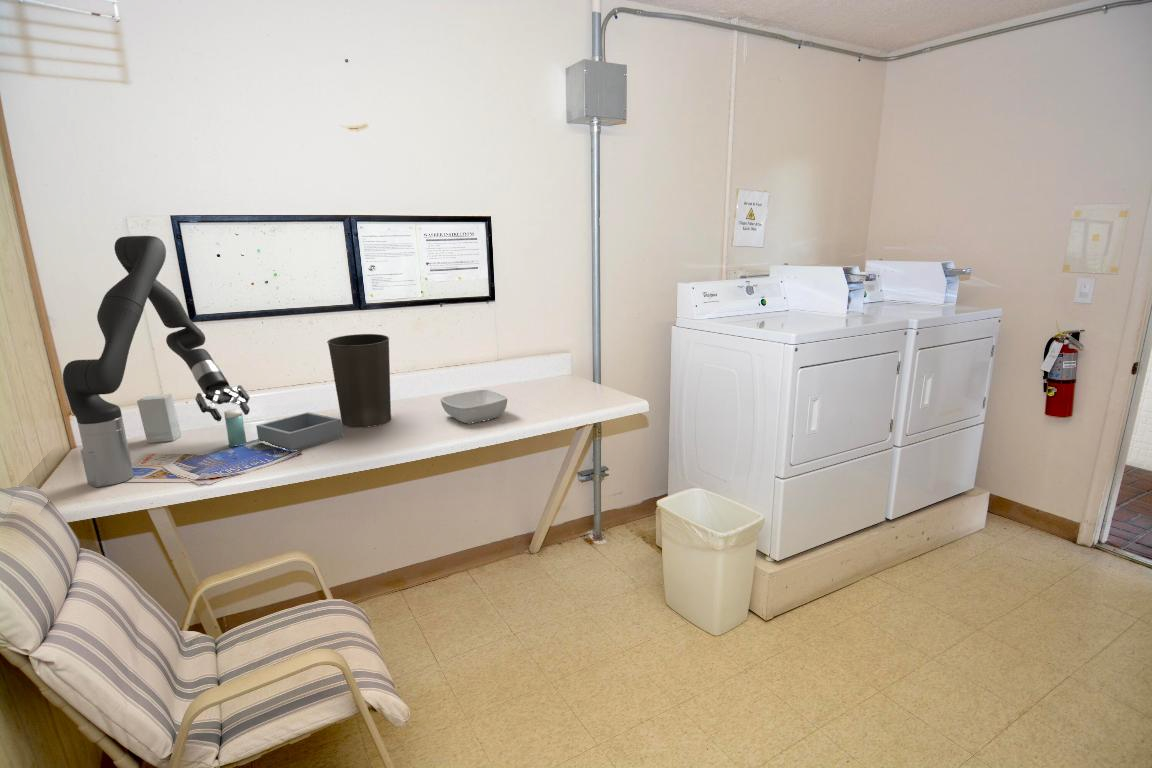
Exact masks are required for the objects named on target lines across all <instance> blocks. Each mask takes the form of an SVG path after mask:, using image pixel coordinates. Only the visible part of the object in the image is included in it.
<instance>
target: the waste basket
mask: <svg viewBox="0 0 1152 768" xmlns="http://www.w3.org/2000/svg"><path fill="white" fill-rule="evenodd" d="M327 344H328V351H329V355H330V360H331V361H330V362H331V368H332V373H333V378H334V379H333V380H334V385H335V390H336V396H337V402H338V408H339V413H340V414H339V415H340V419H341V425H343V426H344V427H347V426H348V427H347V428H355V427H362V428H369V427H368V426H371V427H375V426H374V425H377V426H380V425H379V424H381V425H383V424H382V423H384V424H386V423H388V422H389V421H391V418H392V413H391V412H392V410H391V409H392V407H391V405H392V404H391V403H392V400H391V376H390V375H391V371H390V337H389V336H388V335H385V334H378V333H376V334H375V333H361V334H347V335H340V336H336V337H332V338H329V339H328V340H327ZM387 421H388V422H387ZM385 422H386V423H385Z"/></svg>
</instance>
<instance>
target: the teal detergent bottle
mask: <svg viewBox="0 0 1152 768" xmlns="http://www.w3.org/2000/svg"><path fill="white" fill-rule="evenodd" d="M223 413H224V414H223V415H224V419H225V427H226V433H227V438H228V446H229V447H230V446H235V445H240V444H244V443H246V444H247V437H246V431H245V425H244V417H243V411H242V409H241V408H239V409H235V408H234V409H229V410H227V411H224V412H223Z"/></svg>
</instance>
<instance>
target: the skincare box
mask: <svg viewBox="0 0 1152 768" xmlns="http://www.w3.org/2000/svg"><path fill="white" fill-rule="evenodd" d="M136 402H137V403H136V404H137V407H138V411H139V414H140V415H139V416H140V419H141V423H142V427H143V431H144V436H145V439H146V444H151V443H163V442H164V443H165V442H174V441H176V440H178V439H179V438H181V437H182V431H181V428H180V423H179V419H178V413H177V411H176V406H175V402H174V398H173V394H172V393H171V394H169V393H168V394H161V395H159V394H158V395H148V396H144V397H142V398H140V399H138V400H136Z"/></svg>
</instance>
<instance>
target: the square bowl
mask: <svg viewBox="0 0 1152 768" xmlns="http://www.w3.org/2000/svg"><path fill="white" fill-rule="evenodd" d="M440 403H441V406H442V408H443V411H444V412H445V413H446V414H447V415H449V416H451V418H453V417H454V419H455V418H456V419H455V420H457V421H458V420H459V421H458V422H460V421H461V422H460V423H462V422H464V423H463V424H465V423H472V422H478V421H483V420H487V421H489V420H488V419H492V420H494V419H493V418H496V419H498V418H499V417H501V416H502V415H503V414H504V413H505V411H506V408H507V404H508V397H506V396H505V395H503V394H500V393H497V392H495V391H492V390H489V389H478V390H471V391H463V392H459V393H458V392H457V393H453V394H450V395H445V396H443V397H441V398H440ZM497 417H498V418H497ZM483 422H484V421H483ZM478 423H479V422H478ZM472 424H473V423H472Z"/></svg>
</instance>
